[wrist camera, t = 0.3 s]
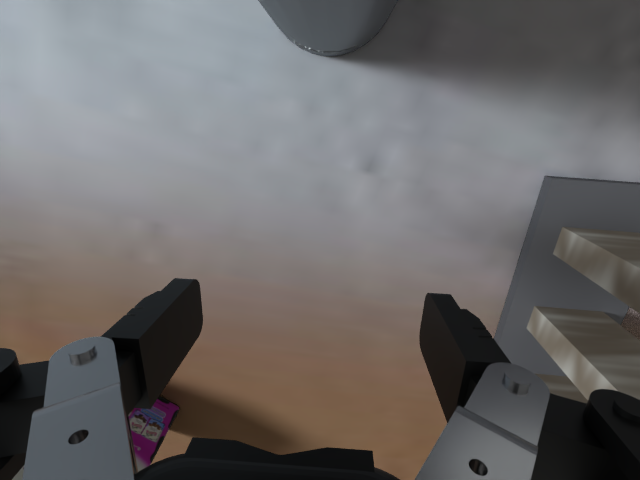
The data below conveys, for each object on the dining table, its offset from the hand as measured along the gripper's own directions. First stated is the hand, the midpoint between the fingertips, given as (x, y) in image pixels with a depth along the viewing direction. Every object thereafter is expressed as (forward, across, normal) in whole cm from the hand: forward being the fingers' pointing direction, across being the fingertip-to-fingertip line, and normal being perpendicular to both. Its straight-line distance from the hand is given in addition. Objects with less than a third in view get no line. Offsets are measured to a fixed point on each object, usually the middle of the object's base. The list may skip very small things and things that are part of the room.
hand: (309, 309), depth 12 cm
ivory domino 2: (+17, -22, +10) cm, 29 cm away
